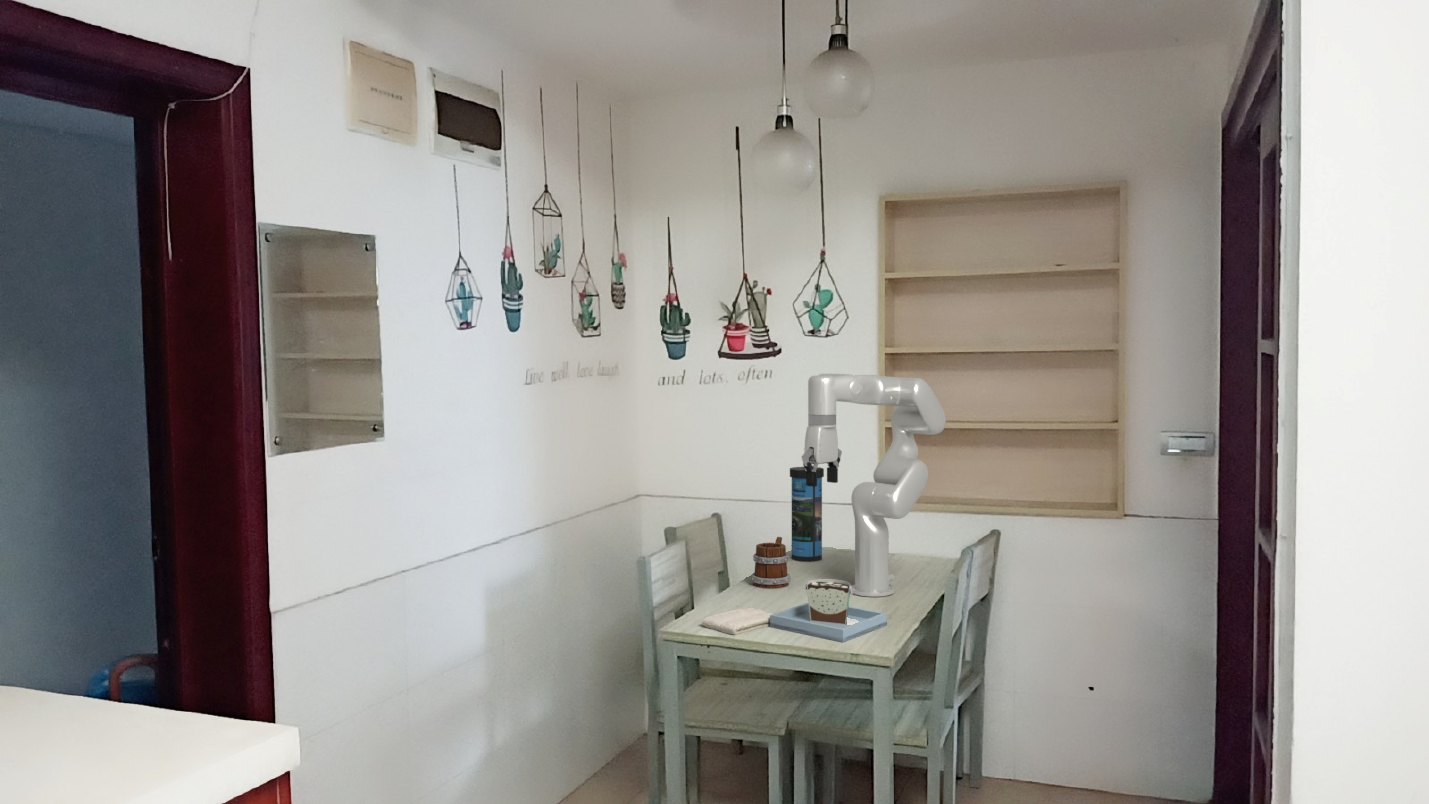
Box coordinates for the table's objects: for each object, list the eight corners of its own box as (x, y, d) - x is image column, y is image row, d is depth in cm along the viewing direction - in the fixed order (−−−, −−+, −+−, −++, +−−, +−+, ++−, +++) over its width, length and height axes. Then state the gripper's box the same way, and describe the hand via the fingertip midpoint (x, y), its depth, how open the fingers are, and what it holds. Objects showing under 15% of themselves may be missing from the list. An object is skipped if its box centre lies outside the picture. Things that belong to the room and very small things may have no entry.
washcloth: (784, 624, 271) (784, 612, 271) (734, 638, 259) (734, 625, 259) (750, 615, 280) (750, 604, 280) (701, 628, 268) (701, 616, 267)
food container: (858, 619, 270) (858, 581, 269) (851, 625, 264) (851, 586, 263) (812, 615, 275) (812, 576, 274) (804, 620, 269) (804, 581, 268)
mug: (744, 587, 310) (746, 535, 311) (759, 585, 323) (762, 535, 325) (782, 590, 306) (785, 537, 307) (796, 588, 319) (798, 538, 320)
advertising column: (825, 555, 356) (825, 466, 354) (822, 562, 345) (822, 471, 343) (791, 554, 358) (791, 466, 356) (787, 561, 347) (787, 470, 345)
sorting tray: (815, 611, 282) (815, 600, 282) (886, 625, 268) (887, 613, 268) (769, 626, 267) (769, 615, 267) (843, 642, 253) (843, 630, 253)
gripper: (828, 418, 294) (828, 479, 295) (791, 422, 281) (792, 486, 282) (851, 419, 290) (851, 482, 290) (815, 423, 276) (815, 488, 277)
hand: (822, 484), depth 286 cm, fingers open, 9 cm apart
